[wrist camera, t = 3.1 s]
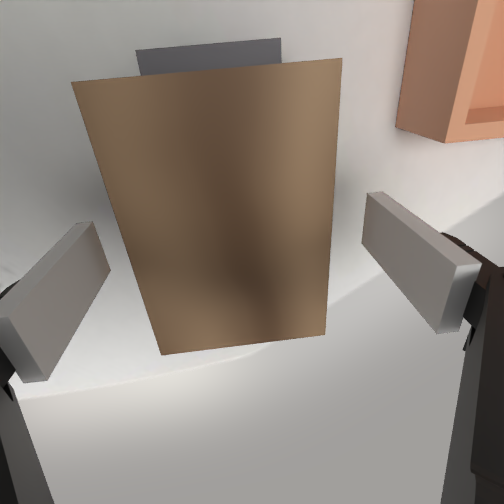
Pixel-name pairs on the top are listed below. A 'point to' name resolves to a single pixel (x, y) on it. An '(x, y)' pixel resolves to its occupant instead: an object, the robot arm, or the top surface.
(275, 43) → the block
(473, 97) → the dish
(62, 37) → the top surface
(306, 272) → the brown wooden block
